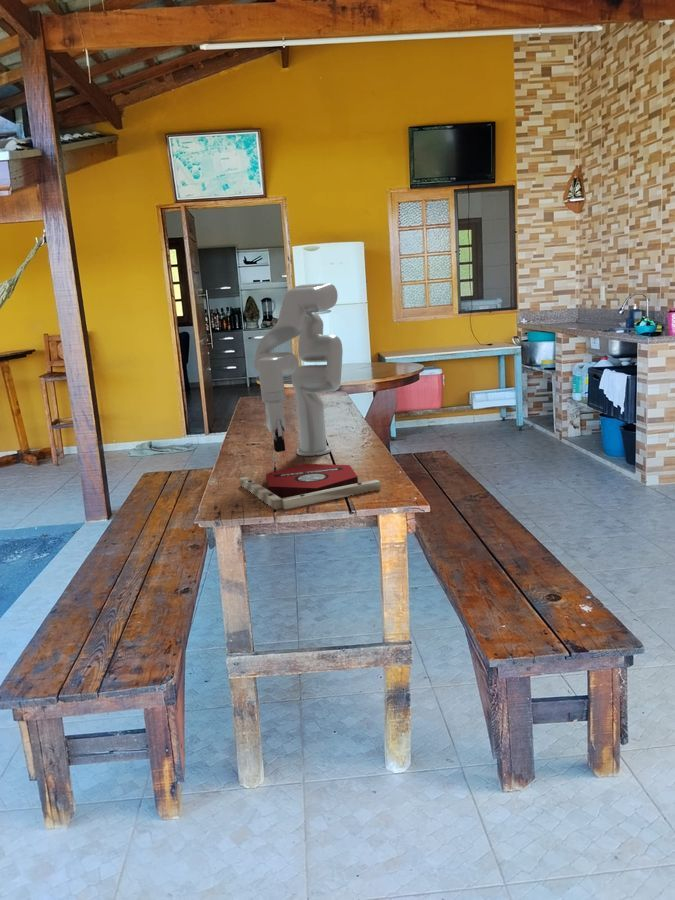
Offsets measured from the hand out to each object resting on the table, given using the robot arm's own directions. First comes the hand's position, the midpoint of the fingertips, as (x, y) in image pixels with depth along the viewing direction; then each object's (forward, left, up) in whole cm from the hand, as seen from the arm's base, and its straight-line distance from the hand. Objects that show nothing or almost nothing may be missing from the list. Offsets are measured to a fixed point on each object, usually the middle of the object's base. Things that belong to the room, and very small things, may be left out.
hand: (280, 450), depth 239 cm
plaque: (+20, -2, -8) cm, 22 cm away
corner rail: (+22, -4, -8) cm, 23 cm away
